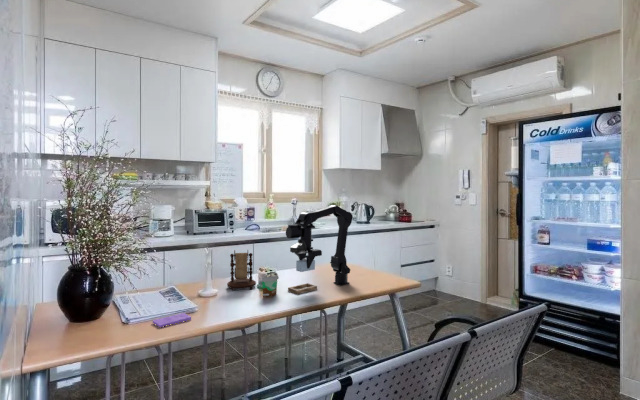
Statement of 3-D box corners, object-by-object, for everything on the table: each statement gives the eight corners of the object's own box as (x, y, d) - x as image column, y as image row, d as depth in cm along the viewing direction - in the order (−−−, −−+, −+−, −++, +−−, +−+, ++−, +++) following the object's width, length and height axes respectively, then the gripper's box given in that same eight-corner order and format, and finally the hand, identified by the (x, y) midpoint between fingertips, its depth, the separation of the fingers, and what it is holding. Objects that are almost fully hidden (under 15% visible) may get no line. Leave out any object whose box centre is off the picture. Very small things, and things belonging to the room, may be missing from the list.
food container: (274, 298, 176) (273, 278, 175) (261, 298, 177) (261, 277, 177) (281, 291, 188) (281, 271, 188) (270, 290, 189) (270, 271, 189)
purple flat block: (191, 321, 148) (191, 316, 148) (159, 329, 140) (159, 324, 140) (184, 316, 153) (183, 312, 153) (152, 324, 145) (152, 319, 145)
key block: (296, 270, 187) (296, 259, 187) (309, 268, 194) (309, 257, 193) (301, 272, 184) (301, 260, 184) (314, 269, 191) (314, 258, 190)
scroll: (226, 292, 186) (226, 252, 185) (227, 284, 201) (227, 247, 200) (256, 290, 189) (256, 251, 188) (255, 283, 204) (255, 247, 203)
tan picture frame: (307, 286, 197) (307, 283, 197) (317, 289, 192) (316, 286, 191) (288, 291, 189) (288, 287, 189) (297, 294, 183) (297, 290, 183)
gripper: (282, 236, 190) (281, 266, 190) (305, 240, 176) (305, 273, 177) (298, 234, 197) (298, 263, 198) (322, 238, 184) (322, 270, 184)
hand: (305, 267), depth 189 cm, fingers closed on key block, 4 cm apart
